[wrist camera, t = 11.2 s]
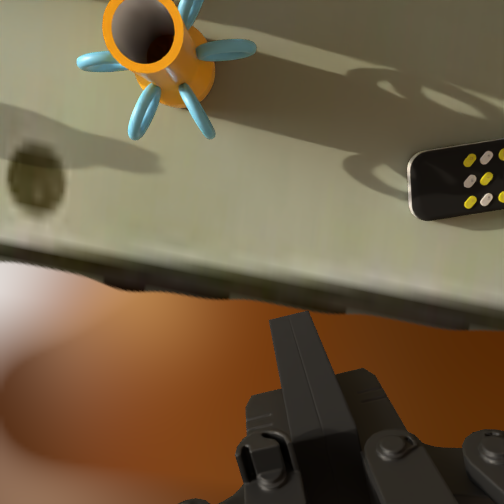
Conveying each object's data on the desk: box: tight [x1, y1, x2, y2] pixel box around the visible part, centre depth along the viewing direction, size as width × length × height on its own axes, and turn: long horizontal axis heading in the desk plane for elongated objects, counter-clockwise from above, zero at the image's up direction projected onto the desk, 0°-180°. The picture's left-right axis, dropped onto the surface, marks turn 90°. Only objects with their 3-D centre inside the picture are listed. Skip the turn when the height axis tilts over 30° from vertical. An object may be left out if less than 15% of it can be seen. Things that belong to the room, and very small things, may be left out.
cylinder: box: [77, 0, 256, 140], centre depth 29 cm, size 12×10×15 cm
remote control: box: [407, 138, 504, 221], centre depth 38 cm, size 6×13×2 cm, turn 99°
